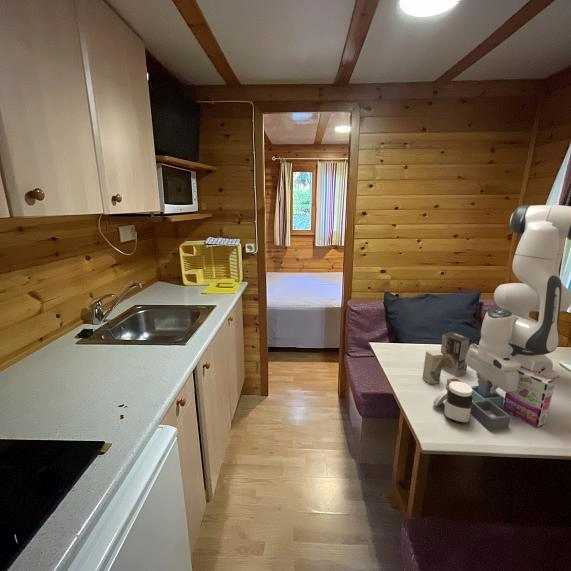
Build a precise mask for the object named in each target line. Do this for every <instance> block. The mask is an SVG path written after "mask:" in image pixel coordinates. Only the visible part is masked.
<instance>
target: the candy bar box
mask: <svg viewBox="0 0 571 571" xmlns="http://www.w3.org/2000/svg"><path fill="white" fill-rule="evenodd" d="M517 371H518V373H519V382H518V387H517V390H516V391H514V392H505V396H504V400H503V405H502V410H504V411H506V412H508V413H510V414H512V415H513V416H516V417H517V418H519V419H521V420H522V421H524V422H526V423H527V424H530V425H531V426H533V427H535V428H540V427H541V426H544V425H545V424H546V422H547V417H548V414H549V410H550V405H551V400H552V396H553V391H554V388H555V384H556V379H551V378H549V377H546V376H544V375H542V374H539V373H537V372H534V371H532V370H530V369H527V368H525V367H523V366H521V367H520V369H518V370H517Z"/></svg>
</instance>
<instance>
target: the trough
mask: <svg viewBox="0 0 571 571" xmlns="http://www.w3.org/2000/svg"><path fill="white" fill-rule="evenodd" d="M470 387H471V388H472V402H473V401H481V400H490V401H491V402H493V403H494V404H495V405H497V406H498V407H499V408H500V407H503V404H504V399H505V396H503V395H501V394H500V393H499V392H497V391H496V392H495V393H494V394H493V397H491V398H483V397H482V396H481V395H479V394H478V393H477V390H478V385H473V386H470Z"/></svg>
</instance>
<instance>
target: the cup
mask: <svg viewBox="0 0 571 571" xmlns="http://www.w3.org/2000/svg"><path fill="white" fill-rule="evenodd" d="M453 381H458V382H463V383H465V382H464V381H463V380H461V379H460V378H459V377H451V378H447V379H446V385H445V390H448V389H449V384H450V383H451V382H453Z"/></svg>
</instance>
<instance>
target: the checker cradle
mask: <svg viewBox="0 0 571 571" xmlns="http://www.w3.org/2000/svg"><path fill="white" fill-rule="evenodd" d="M470 416H472V417H473V418H474V419H475V420H477V421H478V422H479V424H480V425H482V426H483V427H484V428H485V429H486V430H487V431H488V432H493V431H494V432H495V431H500V430H501V431H502V430H508V429H509V427H510V424H511V418H512V416H511V415H509V414H508V413H507V411H506V412H505V410H504V409H503V408H500V406H499V407H498V406H497V405H495V404H494V403H493V402H491V401H490V400H481V401H473V400H472V406H471V412H470Z"/></svg>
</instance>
